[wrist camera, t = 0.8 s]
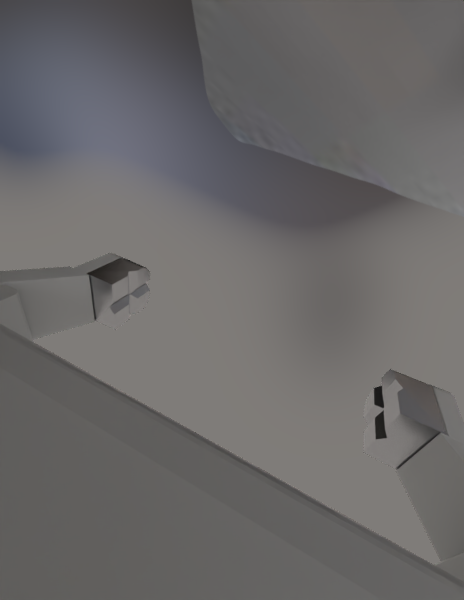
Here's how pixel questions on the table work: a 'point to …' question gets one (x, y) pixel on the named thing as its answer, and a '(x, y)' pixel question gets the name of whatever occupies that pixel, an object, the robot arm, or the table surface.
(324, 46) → the table surface
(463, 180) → the table surface
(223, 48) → the table surface
